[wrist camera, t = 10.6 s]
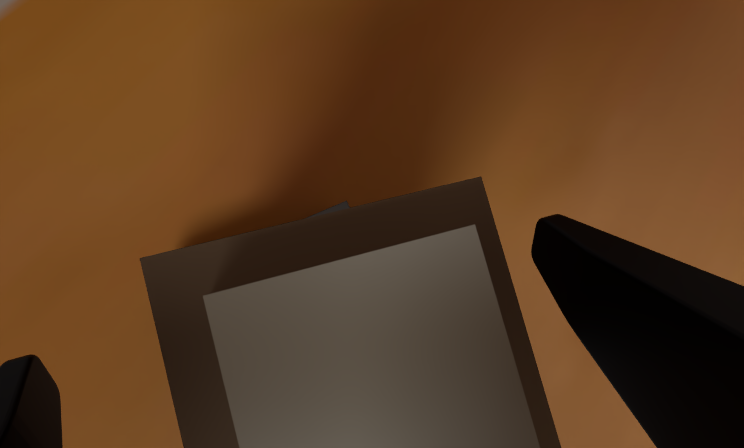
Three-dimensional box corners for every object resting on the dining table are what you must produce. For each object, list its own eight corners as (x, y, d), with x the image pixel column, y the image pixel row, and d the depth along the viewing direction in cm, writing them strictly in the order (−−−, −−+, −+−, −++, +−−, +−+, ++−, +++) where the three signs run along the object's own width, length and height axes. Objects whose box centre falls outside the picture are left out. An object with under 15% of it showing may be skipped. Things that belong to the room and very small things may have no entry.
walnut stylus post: (376, 382, 19) (618, 530, 6) (246, 424, 18) (228, 703, 5) (342, 255, 19) (507, 161, 7) (213, 289, 18) (123, 251, 6)
